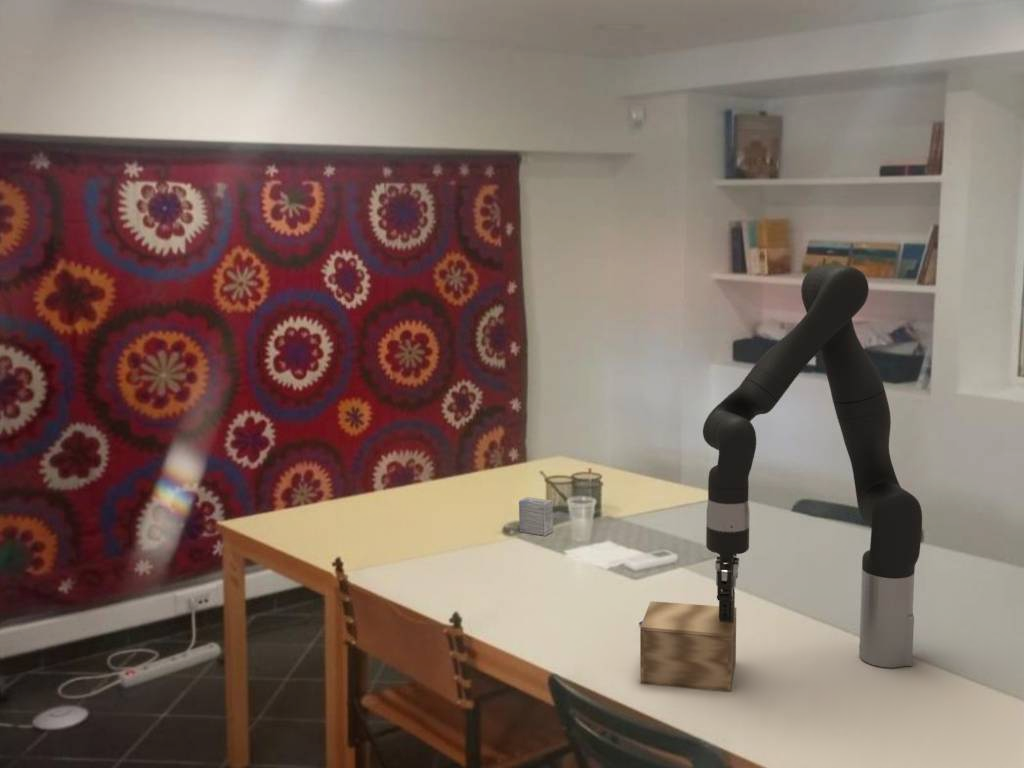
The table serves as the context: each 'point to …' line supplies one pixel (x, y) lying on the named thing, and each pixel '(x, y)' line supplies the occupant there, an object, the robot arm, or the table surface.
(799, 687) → the table surface
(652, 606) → the lid flap
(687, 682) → the wooden box
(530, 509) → the medicine box
